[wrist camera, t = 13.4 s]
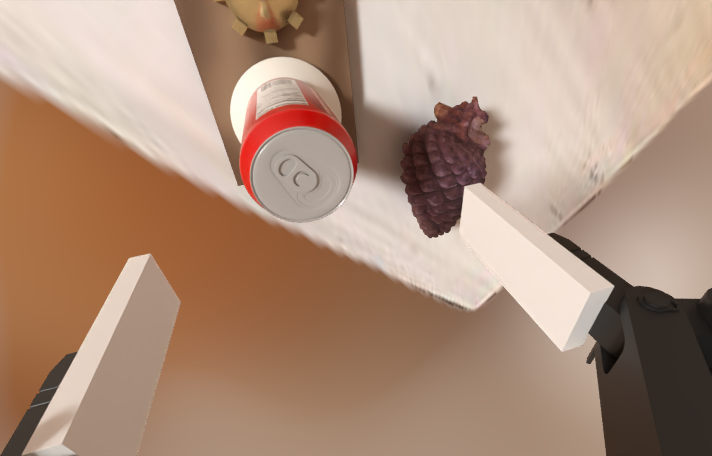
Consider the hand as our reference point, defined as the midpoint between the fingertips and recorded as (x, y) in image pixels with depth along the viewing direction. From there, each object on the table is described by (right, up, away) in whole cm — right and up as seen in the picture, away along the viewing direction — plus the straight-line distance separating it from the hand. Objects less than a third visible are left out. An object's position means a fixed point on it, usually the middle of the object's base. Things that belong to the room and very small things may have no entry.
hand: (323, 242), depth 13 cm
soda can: (-6, +12, +18) cm, 23 cm away
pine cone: (+10, +10, +28) cm, 31 cm away
